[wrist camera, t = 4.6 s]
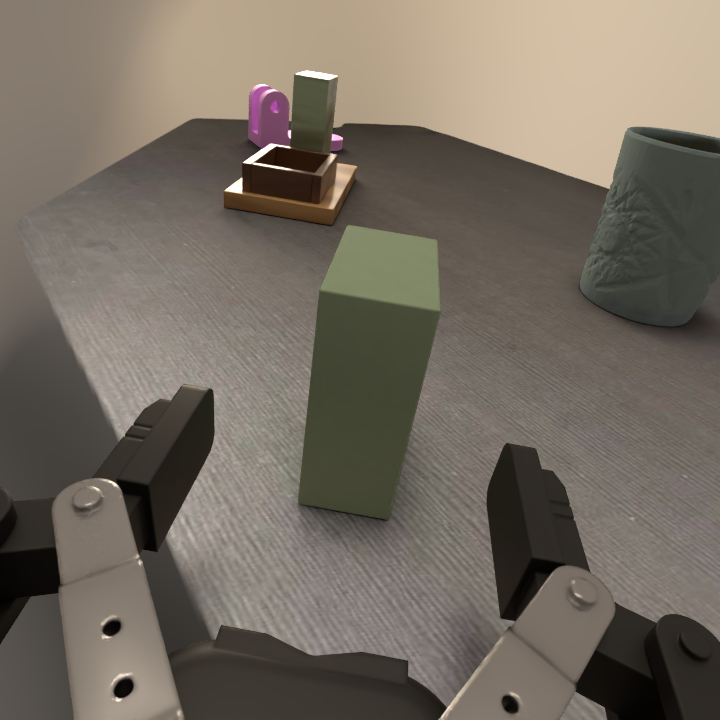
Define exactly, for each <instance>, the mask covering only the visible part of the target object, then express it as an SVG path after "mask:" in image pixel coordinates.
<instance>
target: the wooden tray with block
mask: <svg viewBox="0 0 720 720" xmlns="http://www.w3.org/2000/svg"><path fill="white" fill-rule="evenodd" d="M337 81H338V76H336V75H329V74H323V73H317V72H311V71H304V72H301V73H297V74H295V75H294V87H293V105H292V122H291V140H290V147H289V146H283V145H277V144H269V145H268V146H266V147H265V148H263V149H262V150H260V151H259V152H258V153H256V154H255V155H253V156H252V157H250V158H249V159H247V160H246V161H244V162H243V163H242V178H240V179H239V180H238V181H236V182H235V183H234V184H232V185H231V186H230V187H228V188H227V189H226V190H225V191H224V207H226V208H232V209H238V210H244V211H250V212H256V213H262V214H267V215H273V216H279V217H285V218H291V219H297V220H303V221H308V222H314V223H320V224H326V225H332V224H333V222H334V220H335V218H336V216H337V214H338V212H339V210H340V208H341V206H342V204H343V202H344V201H345V199H346V197H347V195H348V193H349V191H350V189H351V187H352V185H353V183H354V181H355V179H356V172H357V166H353V165H347V164H341V163H337V158H338V155H336V154H330V153H331V142H332V132H333V122H334V112H335V102H336V101H335V100H336V91H337Z"/></svg>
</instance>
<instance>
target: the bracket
mask: <svg viewBox="0 0 720 720" xmlns="http://www.w3.org/2000/svg"><path fill="white" fill-rule="evenodd" d="M288 124H289V102H288V99H287V98H286V96H285V95H284V94H283V93H281V92H279V91H277V90H274V89H272V88H271V87H269V86H267V85H264V84H260V85H257V86H255V87H254V88H253V89H252V90H251V92H250V95H249V135H248V139H249V140H251V141H252V142H253V143H254V144H256V145H257V146H258V147H260V148H265V147H266V146H268V145H269V144H277V145H283V146H289V147H290V140H291V130H288ZM342 143H343V138H342V137H340V136H338V135H334V134H332V142H331V151H339V150H342Z"/></svg>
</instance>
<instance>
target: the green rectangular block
mask: <svg viewBox="0 0 720 720" xmlns="http://www.w3.org/2000/svg"><path fill="white" fill-rule="evenodd" d="M440 313H441V305H440V285H439V264H438V243H437V240H434V239H428V238H422V237H416V236H410V235H405V234H399V233H393V232H387V231H381V230H375V229H369V228H364V227H358V226H352V225H347V227H346V229H345V232H344V234H343V236H342V239H341V241H340V243H339V246H338V248H337V251H336V253H335V255H334V258H333V260H332V262H331V265H330V267H329V269H328V272H327V274H326V276H325V279H324V281H323V284H322V286H321V288H320V291H319V300H318V310H317V320H316V329H315V339H314V349H313V359H312V369H311V379H310V389H309V399H308V409H307V418H306V428H305V438H304V448H303V458H302V468H301V478H300V488H299V497H298V503H299V504H303V505H309V506H314V507H320V508H325V509H331V510H336V511H342V512H347V513H353V514H358V515H364V516H369V517H375V518H380V519H385V520H388V519H389V516H390V512H391V508H392V504H393V501H394V497H395V493H396V489H397V485H398V481H399V477H400V473H401V469H402V465H403V461H404V457H405V453H406V449H407V445H408V441H409V437H410V433H411V429H412V425H413V421H414V417H415V413H416V409H417V405H418V401H419V397H420V393H421V389H422V385H423V381H424V377H425V373H426V369H427V365H428V361H429V357H430V353H431V349H432V345H433V341H434V337H435V333H436V329H437V325H438V321H439V317H440Z"/></svg>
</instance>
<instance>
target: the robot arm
mask: <svg viewBox="0 0 720 720" xmlns="http://www.w3.org/2000/svg"><path fill="white" fill-rule="evenodd" d="M214 430H215V429H214V394H213V390H212V389H210V388H205V387H199V386H194V385H188V384H183V385H182V386H181V387H180V389H179V390H178V392H177V393H176V394H175V396H174V397H173V399H172V400H171V401H170V400H165V399H160V400H158V401H156V402H155V403H153V404H152V405H150V406H148V407H147V408H145V409H144V410H143V411H142V413H141V414H140V415H139V417H138V418H137V419H136V421H135V422H134V425H133V426H131V427H130V428H129V430H128V431H127V432H126V434H125V437H123V438H122V439H121V440H120V442H119V443H118V444H117V446H116V447H115V448H114V450H113V451H112V452H111V453H110V455H109V456H108V458H107V459H106V460H105V461H104V463H103V464H102V465H101V467H100V468H99V469H98V471H97V472H96V473H95V474H94V476H93V477H92V478H91V479H86V480H82V481H79V482H77V483H75V484H73V485H70V486H69V487H67V488H66V489H64V490H63V491H62V492H61V493H60V494H59V495H58V496H57V497H56V498H49V499H39V500H26V501H12V498H11V496H10V493H9V492H8V491H7V490H6V489H4V488H2V487H0V644H1V642H2V641H3V639H4V638H5V636H6V634H7V633H8V631H9V629H10V628H11V626H12V625H13V623H14V622H15V620H16V619H17V617H18V616H19V614H20V612H21V611H22V609H23V608H24V606H25V605H26V603H27V601H28V600H29V598H30V597H31V596H38V595H46V594H54V593H59V602H60V610H61V619H62V627H63V635H64V642H65V651H66V659H67V668H68V676H69V684H70V692H71V700H72V708H73V716H74V720H560V718H561V717H562V715H563V713H564V711H565V709H566V708H567V706H568V704H569V702H570V700H571V699H572V697H573V695H574V693H575V692H577V693H579V694H581V695H583V696H584V697H586V698H588V699H590V700H592V701H594V702H596V703H597V704H599V705H601V706H603V707H605V710H606V715H607V720H720V642H719V641H718V639H717V638H716V637H715V636H714V635H713V634H712V633H711V632H710V631H709V630H707V629H706V628H705V627H704V626H702V625H701V624H699V623H698V622H696V621H694V620H692V619H690V618H688V617H685V616H682V615H677V614H669V615H665V616H663V617H662V618H661V619H660V620H659V621H658V622H657V623H655V622H653V621H651V620H649V619H647V618H645V617H643V616H641V615H638V614H636V613H634V612H632V611H630V610H628V609H626V608H624V607H622V606H620V605H619V604H617V603H616V602H614V599H613V597H612V595H611V593H610V591H609V590H608V588H607V587H606V586H605V584H604V583H603V582H602V581H601V580H600V579H599V578H597V577H596V576H595V575H593V574H592V573H591V572H590V570H589V566H588V563H587V560H586V556H585V553H584V550H583V546H582V543H581V539H580V536H579V533H578V529H577V526H576V523H575V521H574V520H573V518H574V516H573V513H572V509H571V507H569V504H570V503H569V499H568V496H567V493H566V489H565V487H564V485H563V484H562V483H561V481H560V480H559V479H558V477H557V476H556V475H555V474H554V472H553V471H550V470H545V469H541V465H540V461H539V457H538V453H537V451H536V449H535V448H531V447H526V446H520V445H515V444H509V443H506V444H505V445H504V447H503V449H502V452H501V455H500V457H499V460H498V462H497V465H496V467H495V470H494V472H493V475H492V477H491V480H490V483H489V486H488V491H487V512H488V520H489V528H490V536H491V544H492V553H493V561H494V569H495V577H496V585H497V593H498V602H499V610H500V618H501V619H507V620H512V621H516V622H515V623H514V624H513V626H512V627H509V628H508V629H507V630H506V631H505V632H504V634H503V635H502V636H501V638H500V639H499V640H498V642H497V643H496V644H495V646H494V647H493V648H492V650H491V651H490V652H489V654H488V655H487V656H486V658H485V659H484V660H483V662H482V663H481V664H480V666H479V667H478V668H477V670H476V671H475V672H474V674H473V675H472V676H471V678H470V679H469V680H468V682H467V683H466V684H465V686H464V687H463V688H462V690H461V691H460V692H459V694H458V695H457V696H456V698H455V699H454V700H453V702H452V703H451V704H450V706H449V707H448V708H447V707H446V706H445V705H444V704H443V703H442V702H441V701H440V700H439V699H438V697H437V696H436V695H434V694H433V693H432V692H431V691H430V690H429V689H427V688H426V687H425V686H423V685H422V684H420V683H419V682H417V681H416V680H414V679H412V678H410V677H408V661H407V660H401V659H396V658H391V657H386V656H381V655H375V654H370V653H365V652H356V653H343V654H331V655H319V656H313V655H309V654H307V653H305V652H303V651H301V650H298V649H296V648H294V647H292V646H290V645H288V644H286V643H284V642H282V641H280V640H278V639H276V638H274V637H272V636H270V635H268V634H265V633H260V632H255V631H250V630H244V629H239V628H234V627H229V626H224V625H221V627H220V629H219V632H218V635H217V638H216V640H208V641H203V642H198V643H195V644H192V645H189V646H186V647H183V648H181V649H179V650H177V651H175V652H173V653H171V654H169V655H167V652H166V648H165V644H164V641H163V637H162V633H161V629H160V626H159V622H158V618H157V615H156V611H155V607H154V603H153V600H152V596H151V592H150V588H149V585H148V581H147V577H146V573H145V570H144V566H143V563H142V560H141V558H140V557H139V555H140V553H141V551H142V549H144V550H149V551H154V552H158V550H159V548H160V546H161V544H162V542H163V540H164V539H165V537H166V535H167V533H168V531H169V529H170V527H171V525H172V523H173V521H174V520H175V518H176V516H177V514H178V512H179V510H180V508H181V506H182V504H183V502H184V501H185V499H186V497H187V495H188V493H189V491H190V489H191V487H192V485H193V483H194V481H195V480H196V478H197V476H198V474H199V472H200V470H201V468H202V466H203V464H204V462H205V461H206V459H207V457H208V455H209V453H210V450H211V447H212V444H213V440H214Z"/></svg>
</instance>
